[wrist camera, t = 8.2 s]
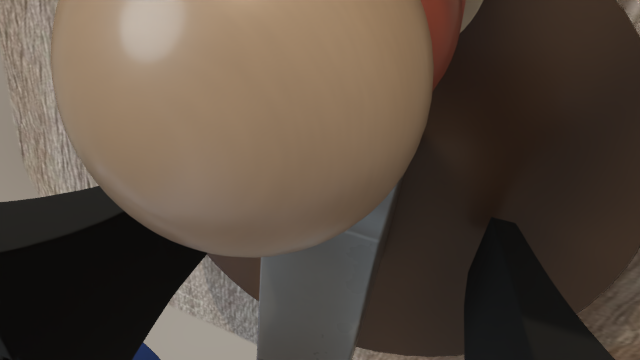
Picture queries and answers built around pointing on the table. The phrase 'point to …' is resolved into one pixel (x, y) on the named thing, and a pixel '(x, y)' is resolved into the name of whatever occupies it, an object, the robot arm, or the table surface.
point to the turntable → (362, 149)
